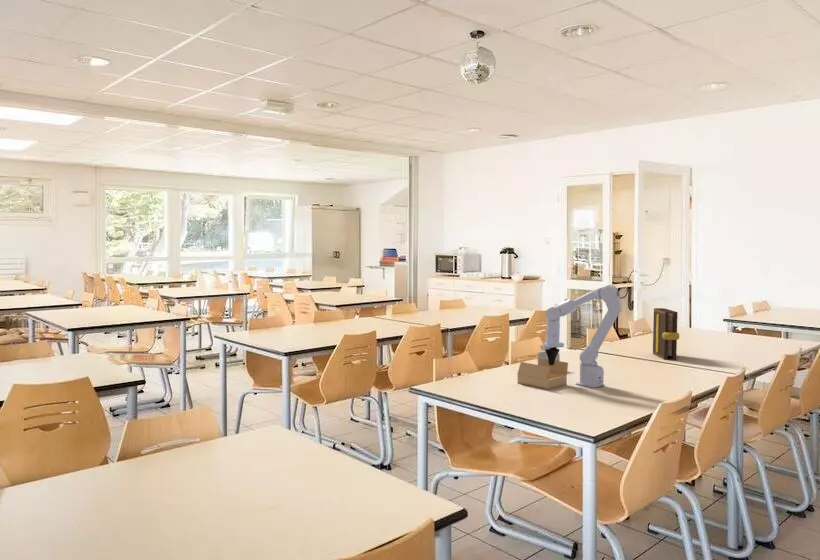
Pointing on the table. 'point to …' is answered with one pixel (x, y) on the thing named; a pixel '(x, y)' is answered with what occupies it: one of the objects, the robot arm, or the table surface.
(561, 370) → the flap right
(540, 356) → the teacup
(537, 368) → the flap left
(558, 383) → the carton
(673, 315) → the book
